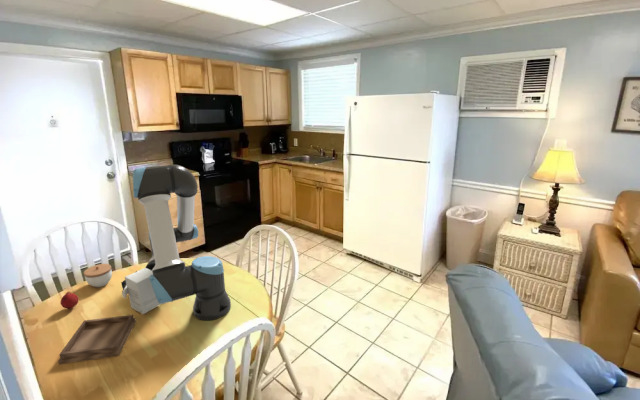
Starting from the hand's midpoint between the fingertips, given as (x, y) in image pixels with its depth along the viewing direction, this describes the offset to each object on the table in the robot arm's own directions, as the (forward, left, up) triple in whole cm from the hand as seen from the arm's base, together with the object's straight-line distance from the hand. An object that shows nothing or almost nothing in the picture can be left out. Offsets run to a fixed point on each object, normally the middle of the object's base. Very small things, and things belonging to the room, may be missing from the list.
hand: (141, 293), depth 126 cm
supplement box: (0, -3, -9) cm, 10 cm away
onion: (+31, -9, -10) cm, 34 cm away
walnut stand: (+11, +14, -10) cm, 20 cm away
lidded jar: (+27, -27, -10) cm, 40 cm away
